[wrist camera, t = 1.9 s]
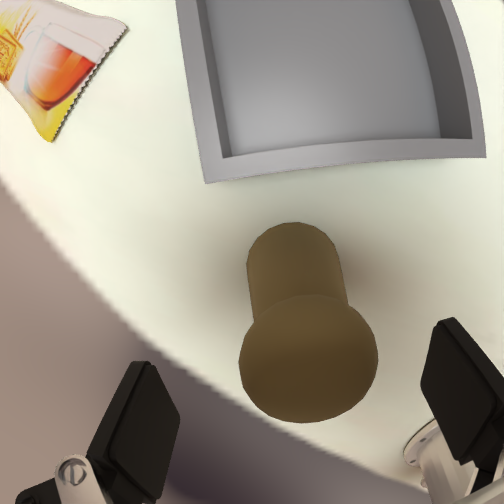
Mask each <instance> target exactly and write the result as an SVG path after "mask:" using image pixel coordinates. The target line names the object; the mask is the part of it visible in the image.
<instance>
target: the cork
mask: <svg viewBox="0 0 504 504" xmlns="http://www.w3.org/2000/svg"><path fill="white" fill-rule="evenodd" d="M246 265H247V275H248V283H249V290H250V297H251V304H252V311H253V318H254V323H253V325H252V326H251V327H250V329H249V330H248V332H247V333H246V335H245V337H244V341H243V344H242V348H241V351H240V357H239V369H240V375H241V381H242V385H243V388H244V390H245V391H246V393H247V394H248V396H249V397H250V399H251V400H252V402H253V403H254V404H255V405H256V406H257V407H258V408H259V409H260V410H262V411H263V412H265V413H266V414H267V415H269V416H271V417H274V418H276V419H279V420H282V421H285V422H293V423H312V422H320V421H324V420H327V419H330V418H334V417H337V416H338V415H340V414H342V413H344V412H346V411H348V410H350V409H351V408H352V407H354V406H355V405H356V404H357V403H358V402H359V401H361V400H362V399H363V398H364V396H365V395H366V393H367V391H368V390H369V388H370V387H371V385H372V383H373V380H374V378H375V374H376V370H377V365H378V351H377V346H376V342H375V337H374V334H373V333H372V331H371V329H370V327H369V325H368V324H367V323H366V321H365V320H364V319H363V318H362V316H361V315H360V314H359V313H358V312H357V311H356V310H355V309H353V308H352V307H350V306H349V305H348V301H347V296H346V291H345V286H344V281H343V276H342V272H341V267H340V262H339V258H338V255H337V252H336V249H335V246H334V244H333V243H332V241H331V240H330V239H329V238H328V236H327V235H326V234H325V233H323V232H322V231H320V230H319V229H317V228H316V227H314V226H311V225H308V224H304V223H300V222H294V223H283V224H280V225H277V226H275V227H272V228H270V229H268V230H267V231H266V232H264V233H263V234H262V235H261V236H259V237H258V238H257V240H256V241H255V243H254V244H253V246H252V247H251V249H250V251H249V255H248V259H247V263H246Z"/></svg>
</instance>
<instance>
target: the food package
mask: <svg viewBox="0 0 504 504" xmlns="http://www.w3.org/2000/svg"><path fill="white" fill-rule="evenodd" d="M125 29H127V28H126V26H125V24H124V23H122V22H121V21H119V20H117V19H114V18H111V17H106V16H97V15H92V14H89V13H86V12H84V11H81V10H78V9H76V8H73V7H71V6H68V5H66V4H63V3H61V2H58V1H56V0H0V82H1V83H2V84H3V85H4V87H5V88H6V89H7V90H8V91H9V92H10V93H11V95H12V96H13V97H14V98H15V99H16V101H17V102H18V103H19V104H20V105H21V107H22V108H23V109H24V110H25V111H26V113H27V114H28V116H29V117H30V119H31V121H32V123H33V125H34V127H35V128H36V130H37V132H38V133H39V134H40V136H41V137H42V138H43V139H45V140H46V141H47V142H51V143H52V140H54V137H55V134H57V130H59V127H60V126H61V122H62V121H64V117H65V116H66V115H67V113H68V110H70V109H71V105H72V104H73V103H74V100H75V98H77V97H78V93H79V92H81V90H82V87H84V86H85V82H86V81H88V80H89V76H90V75H92V74H93V70H95V69H96V68H97V64H99V63H101V59H102V58H104V57H105V54H106V53H107V52H109V50H110V47H112V46H114V42H116V41H117V39H118V38H119V36H120V35H122V33H123V32H124V30H125Z"/></svg>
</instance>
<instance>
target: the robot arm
mask: <svg viewBox="0 0 504 504" xmlns="http://www.w3.org/2000/svg"><path fill="white" fill-rule="evenodd" d="M420 386H421V390H422V392H423V394H424V396H425V398H426V400H427V402H428V404H429V406H430V408H431V411H432V413H433V415H434V417H435V420H433V421H432V422H431V423H429V424H428V425H427V426H425V427H424V428H423V429H422V430H421V431H419V432H418V433H417V434H416V435H415V436H414V437H413V438H412V440H411V441H410V442H409V443H408V445H407V446H406V448H405V451H404V458H405V461H406V463H407V464H408V465H411V466H420V467H421V470H422V473H423V476H424V477H423V479H422V480H421V486H423V487H425V488H427V489H428V492H429V495H430V498H431V502H432V504H504V378H503V376H502V375H501V374H500V372H499V371H498V370H497V368H496V367H495V366H494V364H493V363H492V362H491V360H490V359H489V358H488V357H487V355H486V354H485V353H484V352H483V350H482V349H481V348H480V347H479V346H478V344H477V343H476V342H475V341H474V339H473V338H472V337H471V336H470V335H469V333H468V332H467V331H466V330H465V329H464V328H463V326H462V325H461V324H460V323H459V322H458V321H457V320H456V319H455V318H454V317H451V318H447V319H444V320H440V321H438V323H437V325H436V326H435V327H434V328H433V331H432V336H431V341H430V345H429V350H428V354H427V358H426V362H425V366H424V370H423V374H422V378H421V382H420ZM179 424H180V415H179V413H178V411H177V409H176V407H175V405H174V403H173V401H172V399H171V397H170V396H169V393H168V391H167V389H166V388H165V385H164V383H163V381H162V379H161V377H160V375H159V373H158V371H157V369H156V367H155V366H154V365H151V363H150V362H148V361H133V362H131V364H130V365H129V367H128V369H127V371H126V373H125V375H124V377H123V379H122V381H121V383H120V385H119V386H118V388H117V390H116V392H115V394H114V396H113V398H112V401H111V402H110V404H109V406H108V408H107V410H106V412H105V415H104V417H103V419H102V421H101V423H100V425H99V427H98V429H97V431H96V433H95V435H94V438H93V440H92V442H91V444H90V446H89V449H88V451H87V455H86V457H83V456H81V455H74V454H73V455H69V456H67V457H65V458H63V459H62V460H61V461H60V462H59V463H58V464H57V466H56V468H55V472H54V475H55V478H52V479H50V480H48V481H45V482H43V483H41V484H38V485H36V486H33V487H31V488H28V489H26V490H24V491H22V492H21V493H20V494H19V495H18V496H17V498H16V502H15V504H142V503H145V504H155V503H156V499H159V498H160V497H161V495H162V491H163V487H164V483H165V479H166V475H167V471H168V467H169V463H170V459H171V455H172V451H173V447H174V443H175V440H176V436H177V432H178V428H179Z"/></svg>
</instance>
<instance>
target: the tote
mask: <svg viewBox="0 0 504 504" xmlns="http://www.w3.org/2000/svg"><path fill="white" fill-rule="evenodd" d="M175 1H176V8H177V16H178V23H179V31H180V38H181V45H182V52H183V58H184V65H185V71H186V78H187V84H188V90H189V97H190V103H191V109H192V115H193V120H194V126H195V132H196V138H197V143H198V149H199V154H200V160H201V165H202V171H203V176H204V181H205V184H209V183H215V182H220V181H226V180H232V179H238V178H244V177H250V176H256V175H263V174H270V173H277V172H284V171H291V170H299V169H307V168H315V167H324V166H334V165H343V164H354V163H366V162H378V161H393V160H410V159H435V158H486V146H485V136H484V127H483V119H482V112H481V105H480V99H479V94H478V89H477V84H476V79H475V74H474V70H473V66H472V62H471V58H470V54H469V51H468V47H467V44H466V40H465V37H464V34H463V31H462V28H461V25H460V22H459V19H458V16H457V14H456V11H455V8H454V6H453V3H452V1H451V0H175Z"/></svg>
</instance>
